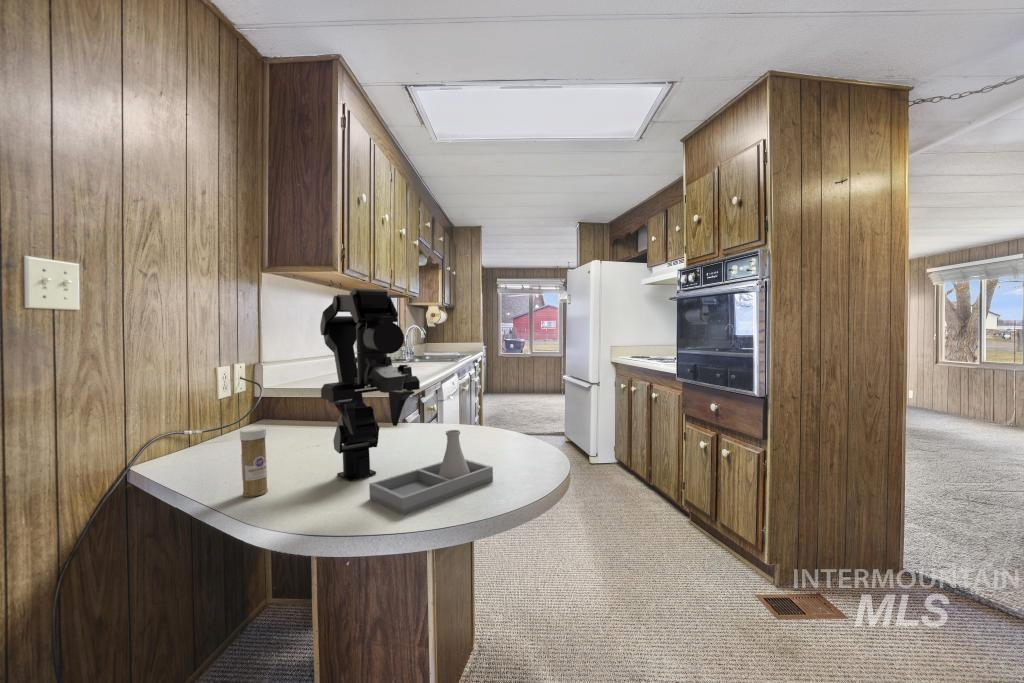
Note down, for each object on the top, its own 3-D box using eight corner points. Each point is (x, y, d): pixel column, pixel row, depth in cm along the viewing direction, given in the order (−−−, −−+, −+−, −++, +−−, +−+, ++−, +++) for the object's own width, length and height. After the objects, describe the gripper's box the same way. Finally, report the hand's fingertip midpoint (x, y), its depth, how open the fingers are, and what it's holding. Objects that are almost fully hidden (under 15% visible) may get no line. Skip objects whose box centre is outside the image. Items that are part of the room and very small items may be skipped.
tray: (369, 498, 85) (369, 483, 85) (458, 469, 102) (457, 456, 102) (403, 515, 78) (402, 498, 77) (492, 480, 94) (492, 466, 94)
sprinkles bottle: (254, 498, 87) (251, 431, 86) (237, 496, 88) (234, 430, 88) (273, 490, 91) (270, 426, 91) (256, 488, 93) (253, 425, 92)
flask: (475, 472, 96) (473, 427, 96) (465, 484, 89) (464, 435, 89) (444, 471, 98) (442, 427, 97) (432, 482, 91) (430, 435, 90)
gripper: (346, 356, 75) (349, 446, 75) (434, 350, 88) (437, 426, 89) (318, 354, 82) (321, 436, 83) (403, 349, 96) (406, 420, 96)
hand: (374, 429), depth 87 cm, fingers open, 9 cm apart
